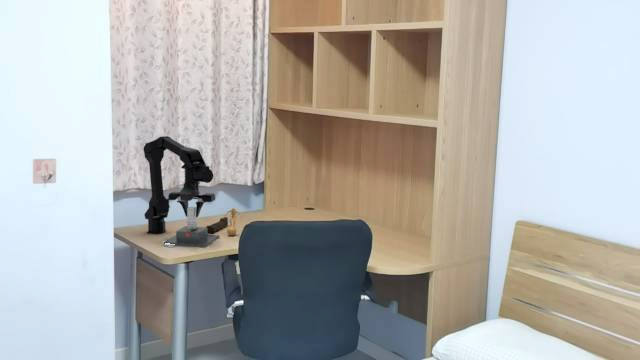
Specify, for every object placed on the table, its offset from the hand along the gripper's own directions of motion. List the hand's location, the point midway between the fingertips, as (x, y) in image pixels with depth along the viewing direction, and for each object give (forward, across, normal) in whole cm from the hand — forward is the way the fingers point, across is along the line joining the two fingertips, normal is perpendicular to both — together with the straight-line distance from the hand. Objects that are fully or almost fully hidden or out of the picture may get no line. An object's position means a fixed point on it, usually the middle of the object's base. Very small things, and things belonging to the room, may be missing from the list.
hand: (192, 217), depth 296 cm
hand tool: (+11, +3, +24) cm, 26 cm away
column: (+5, 0, 0) cm, 5 cm away
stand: (+10, 0, 0) cm, 10 cm away
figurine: (+10, +13, +15) cm, 22 cm away
